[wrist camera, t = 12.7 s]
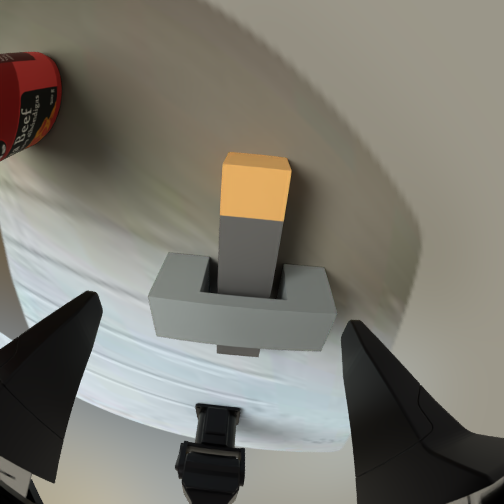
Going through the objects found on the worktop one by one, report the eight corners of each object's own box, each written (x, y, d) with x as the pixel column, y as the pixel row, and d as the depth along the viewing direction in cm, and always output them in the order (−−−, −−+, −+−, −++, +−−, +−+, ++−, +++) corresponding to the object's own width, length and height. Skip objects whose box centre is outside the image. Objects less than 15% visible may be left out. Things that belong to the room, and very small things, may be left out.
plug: (258, 331, 25) (258, 357, 23) (220, 327, 25) (216, 353, 23) (286, 157, 16) (291, 171, 14) (228, 152, 16) (222, 164, 14)
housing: (312, 304, 23) (320, 351, 19) (172, 291, 23) (156, 336, 18) (324, 267, 21) (337, 313, 17) (168, 252, 20) (147, 296, 16)
